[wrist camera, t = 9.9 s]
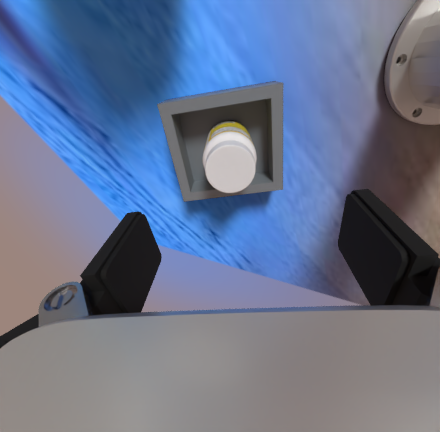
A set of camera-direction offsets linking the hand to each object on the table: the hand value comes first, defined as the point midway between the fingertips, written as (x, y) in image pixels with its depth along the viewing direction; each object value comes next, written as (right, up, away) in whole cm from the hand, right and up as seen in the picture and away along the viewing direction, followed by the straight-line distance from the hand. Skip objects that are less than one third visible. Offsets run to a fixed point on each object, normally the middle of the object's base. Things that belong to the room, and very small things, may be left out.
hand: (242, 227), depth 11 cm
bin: (0, +9, +15) cm, 17 cm away
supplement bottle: (0, +9, +14) cm, 16 cm away
